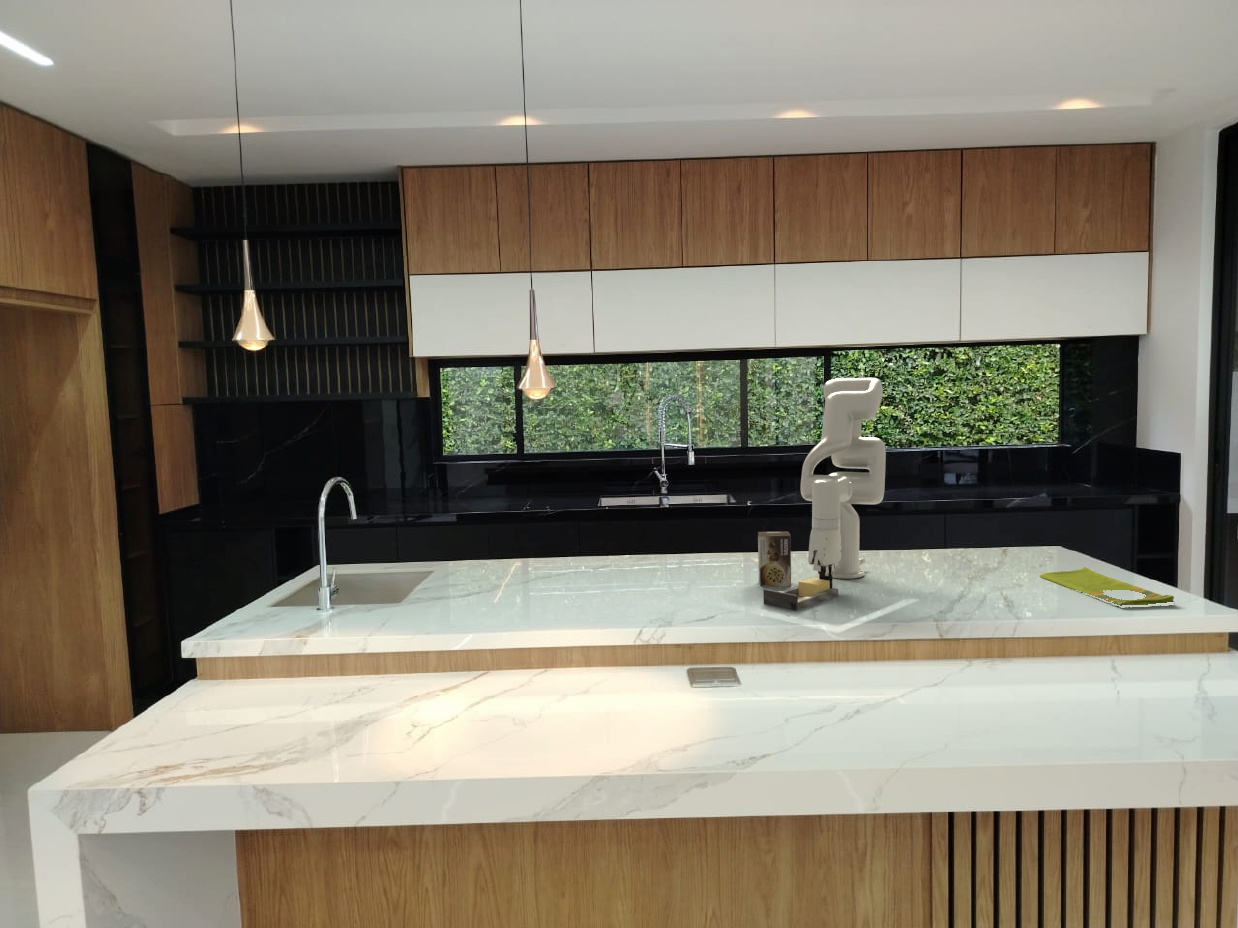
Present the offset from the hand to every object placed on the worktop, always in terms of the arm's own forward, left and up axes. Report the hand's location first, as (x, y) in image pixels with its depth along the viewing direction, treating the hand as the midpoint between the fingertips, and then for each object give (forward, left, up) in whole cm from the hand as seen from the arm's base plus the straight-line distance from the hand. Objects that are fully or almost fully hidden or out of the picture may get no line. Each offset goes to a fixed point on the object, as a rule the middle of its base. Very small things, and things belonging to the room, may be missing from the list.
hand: (825, 588), depth 239 cm
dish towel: (-55, +53, -3) cm, 77 cm away
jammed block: (+6, 0, -1) cm, 6 cm away
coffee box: (+2, -16, -2) cm, 16 cm away
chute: (+12, 0, -2) cm, 12 cm away
